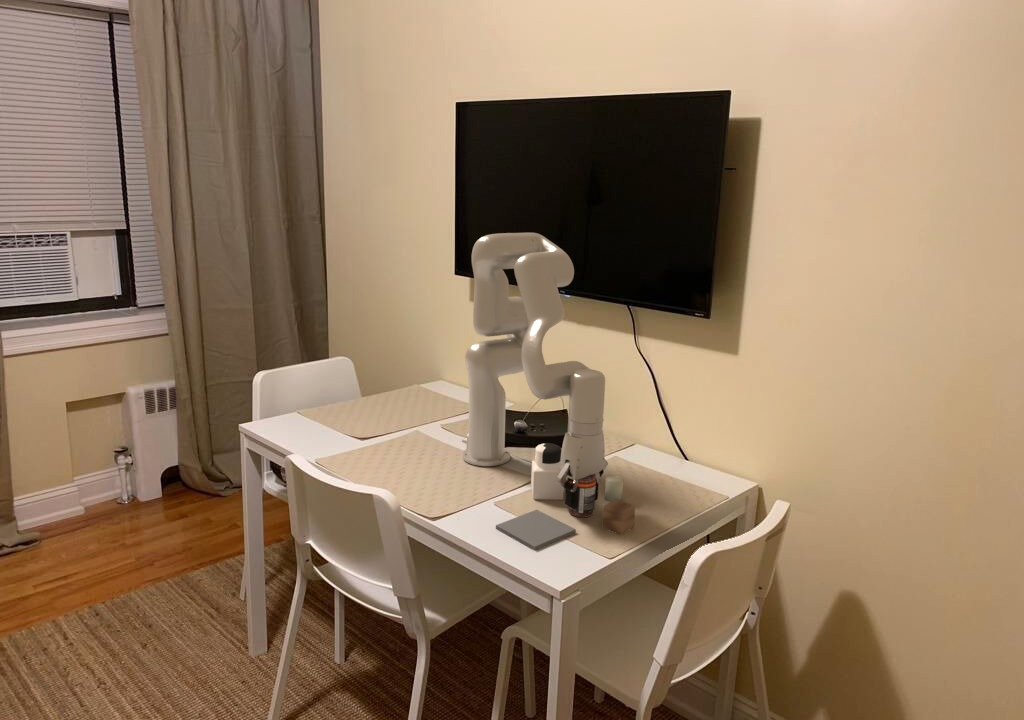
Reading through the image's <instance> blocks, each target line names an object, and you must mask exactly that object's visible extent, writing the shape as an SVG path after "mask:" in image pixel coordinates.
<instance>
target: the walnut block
mask: <svg viewBox="0 0 1024 720" xmlns="http://www.w3.org/2000/svg"><path fill="white" fill-rule="evenodd" d="M635 514H636V505H633V504H630V503H628V502H625V501H623V500H622V501H619V500H616V499H615V500H613V501H612V502H607V503H606V505H604V506H602V520H601V529H604V530H607V531H609V530H610V532H612V531H613V533H615V532H616V533H615V534H618V535H620V534H622V535H624V534H626V533H628V532H629V531H630V530H632V529H633V528H634V527H635V516H636V515H635ZM632 527H633V528H632ZM629 529H630V530H629ZM628 530H629V531H628ZM625 532H626V533H625ZM622 535H621V536H622Z"/></svg>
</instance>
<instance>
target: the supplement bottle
mask: <svg viewBox="0 0 1024 720" xmlns="http://www.w3.org/2000/svg"><path fill="white" fill-rule="evenodd" d="M570 484H571V485H572V484H573V480H572V479H571V481H570ZM576 491H577V492H578V501H577V508H576V509H573V508H571V507H569V506H567V511H568V513H569V514H570V515H572V516H575V517H577V518H587V517H591V516H593V514H594V513H595V505H596V501H595V491H596V476H595V475H594V474H593V475H589V476H587V477H584V478H582V479H579V482H578V485H577V488H576Z"/></svg>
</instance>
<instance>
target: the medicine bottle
mask: <svg viewBox="0 0 1024 720" xmlns="http://www.w3.org/2000/svg"><path fill="white" fill-rule="evenodd" d="M561 451H562V447H561V446H560V445H558V444H555V443H552V442H551V443H549V442H545V443H541V444H538V445H537V446H535V454H534V455H535V459H533V460H532V461H531V474H530V475H531V476H530V477H531V478H530V488H531V497H532V499H533V500H550V501H551V500H560V501H561V500H563V499H564V488H563V486H562V485H561V483H559V482H558V481H557V476H558V475H559V473H560V460H561Z"/></svg>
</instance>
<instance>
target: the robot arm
mask: <svg viewBox="0 0 1024 720" xmlns="http://www.w3.org/2000/svg"><path fill="white" fill-rule="evenodd" d="M471 267H472V272H473V278H474V289H473V312H472V313H473V314H472V315H473V316H472V319H473V320H472V322H473V323H472V324H473V329H474V331H475V332H476V334H477V335H479V336H481V337H489V338H490V337H498V336H499V337H500V336H506V337H503V338H495V339H487V340H482V341H481V340H480V341H478V342H475V343H473V344H472V345H470V346H469V347H468V348H467V350H466V352H465V357H464V359H465V365H466V366H465V367H466V372H467V381H468V433H467V434H466V435H465V437H462V439H461V442H462V443H463V444H465V445H466V448H465V449H464V450H463V452H462V455H461V456H462V459H463V461H464V462H466V463H468V464H471V465H473V466H480V467H494V466H500V465H503V464H506V463H507V462H509V461H510V459H511V452H510V450H508V449H506V447H505V445H506V444H505V441H506V439H505V438H506V436H505V435H506V407H507V406H506V404H507V403H506V399H507V397H506V390H505V388H504V387H503V385H502V383H501V382H500V380H499V377H504V376H508V375H514V374H515V375H516V374H520V373H523V372H524V376H525V380H526V382H527V385H528V388H529V390H530V392H531V393H532V395H534V396H535V398H537V399H539V400H546V401H547V400H551V399H557V398H561V397H569V398H568V400H569V401H568V416H567V417H568V419H567V421H568V423H567V432H565V433H564V437H563V441H562V444H561V445H562V447H561V460H560V473H559V475H558V476H557V481H558V482H559V483H561V485H562V486H563V488H564V489H565V492H564V493H565V496H564V505H565V506H567V507H568V506H569V507H571V508H573V509H576V508H577V501H578V492H577V491H576V488H577V485H578V482H579V479H582V478H584V477H587V476H589V475H593V474H594V475H595V476H596V491H595V502H596V501H598V499H599V484H600V483H601V481H602V476H603V475H604V472H605V470H606V469H607V467H608V465H609V462H608V461H607V460H606V459H605V455H606V454H605V452H606V451H605V448H606V447H605V437H604V435H605V434H604V429H603V426H604V425H603V424H604V409H605V407H604V406H605V391H606V377H605V375H604V374H603V372H601V371H600V370H596V369H591V368H590V367H588V366H587V365H585V363H583V362H581V361H577V360H569V361H563V362H556V363H550V364H546V362H545V359H544V355H543V340H544V337H545V335H547V332H548V331H549V330H550V329H551V328H553V327H554V326H556V325H557V324H559V323H560V322H561V321H563V320H564V318H565V317H566V316H565V315H566V311H565V308H564V305H563V302H562V299H561V295H560V292H559V289H558V288H564V287H567V286H569V285H570V284H571V283H572V281H573V280H574V275H575V268H574V263H573V262H572V259H571V258H570V256H569V255H568V254H567V252H565V251H564V250H563V249H562V248H560V247H559V246H558V245H557V244H555V243H554V242H552V241H551V240H549V239H548V238H547V237H545V236H544V235H542V234H540V233H537V232H506V233H504V232H502V233H501V232H500V233H491V234H486V235H484V236H481V237H480V238H479V239H477V240H476V242H475V243H474V245H473V247H472V252H471ZM509 269H510V270H512V269H513V271H514V277H515V279H516V283H517V287H518V290H519V294H520V296H517V295H516V296H515V295H514V296H509V286H510V284H509V279H508V276H507V275H506V273H505V271H504V270H509ZM571 479H572V480H573V484H572V485H571V484H570V481H571Z"/></svg>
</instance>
